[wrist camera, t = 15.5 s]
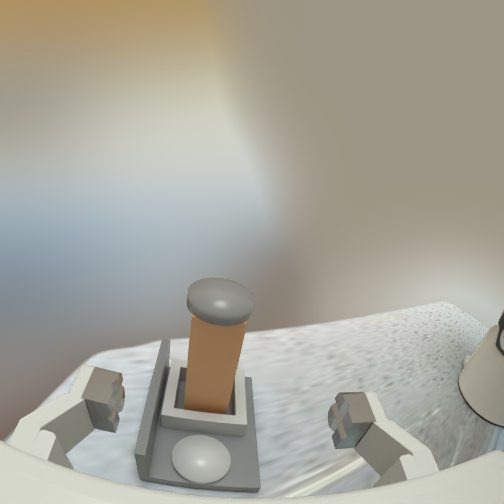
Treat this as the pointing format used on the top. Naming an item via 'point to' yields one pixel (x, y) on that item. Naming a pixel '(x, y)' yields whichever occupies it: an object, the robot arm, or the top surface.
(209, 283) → the grey-capped orange post
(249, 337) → the top surface
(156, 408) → the housing
